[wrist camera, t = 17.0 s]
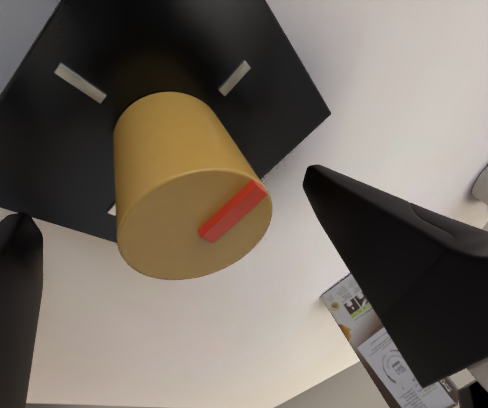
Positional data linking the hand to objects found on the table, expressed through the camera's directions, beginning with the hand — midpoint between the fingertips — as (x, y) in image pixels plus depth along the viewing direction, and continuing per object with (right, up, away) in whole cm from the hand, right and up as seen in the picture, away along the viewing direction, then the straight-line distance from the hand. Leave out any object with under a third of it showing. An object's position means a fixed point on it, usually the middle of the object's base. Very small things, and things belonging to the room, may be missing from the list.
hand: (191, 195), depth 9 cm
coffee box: (+18, -13, +32) cm, 39 cm away
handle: (-1, +2, +2) cm, 3 cm away
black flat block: (-2, +4, +4) cm, 6 cm away
